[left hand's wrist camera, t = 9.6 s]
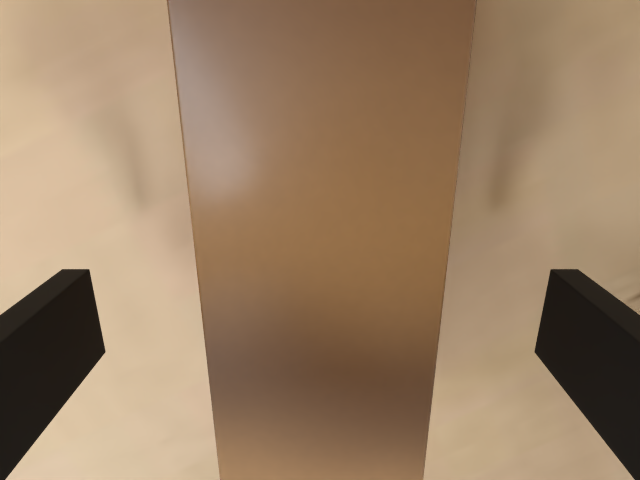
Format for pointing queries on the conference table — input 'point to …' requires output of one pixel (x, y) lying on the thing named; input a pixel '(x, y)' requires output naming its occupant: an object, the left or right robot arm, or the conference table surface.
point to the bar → (321, 223)
